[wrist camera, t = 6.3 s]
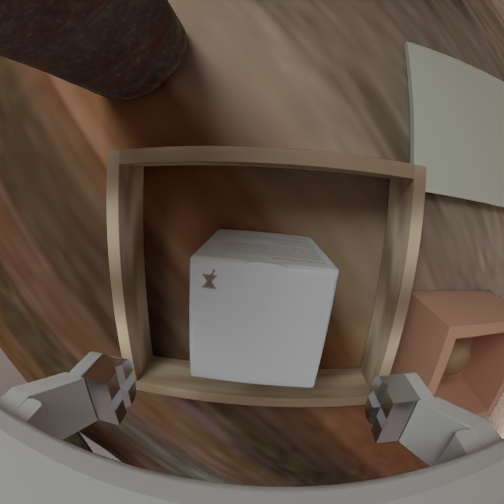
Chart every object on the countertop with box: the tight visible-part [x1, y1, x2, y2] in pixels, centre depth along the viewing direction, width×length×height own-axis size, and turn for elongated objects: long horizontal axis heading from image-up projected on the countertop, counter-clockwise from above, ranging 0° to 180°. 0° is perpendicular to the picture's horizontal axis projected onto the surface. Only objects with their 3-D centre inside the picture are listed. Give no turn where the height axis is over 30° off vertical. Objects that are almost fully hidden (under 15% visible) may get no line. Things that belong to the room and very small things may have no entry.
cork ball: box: [443, 338, 471, 375], centre depth 17 cm, size 3×3×3 cm
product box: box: [189, 229, 339, 388], centre depth 15 cm, size 6×6×7 cm
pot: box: [390, 290, 504, 418], centre depth 17 cm, size 9×9×6 cm
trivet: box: [404, 41, 504, 208], centre depth 15 cm, size 11×11×1 cm
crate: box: [106, 146, 426, 407], centre depth 17 cm, size 16×18×4 cm
